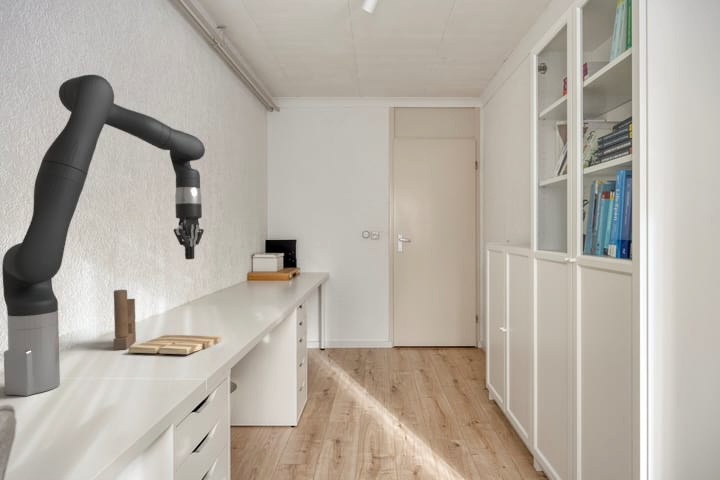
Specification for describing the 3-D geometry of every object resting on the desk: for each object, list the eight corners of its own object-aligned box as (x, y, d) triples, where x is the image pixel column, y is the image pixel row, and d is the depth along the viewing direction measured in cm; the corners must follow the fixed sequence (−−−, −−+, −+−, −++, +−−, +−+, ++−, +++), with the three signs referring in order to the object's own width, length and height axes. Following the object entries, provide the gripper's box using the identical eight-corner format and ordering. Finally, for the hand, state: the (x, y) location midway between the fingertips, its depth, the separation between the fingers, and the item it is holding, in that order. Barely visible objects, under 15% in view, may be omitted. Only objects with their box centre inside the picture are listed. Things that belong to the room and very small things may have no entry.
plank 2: (186, 354, 124) (186, 348, 124) (159, 353, 126) (159, 347, 126) (202, 348, 132) (202, 343, 132) (176, 347, 134) (176, 342, 134)
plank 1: (155, 353, 126) (155, 348, 126) (128, 352, 128) (128, 347, 128) (172, 347, 134) (172, 342, 134) (147, 346, 136) (147, 342, 136)
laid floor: (204, 349, 132) (204, 343, 132) (145, 347, 136) (145, 341, 136) (221, 341, 142) (221, 336, 142) (165, 339, 146) (165, 334, 146)
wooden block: (136, 341, 144) (134, 286, 144) (126, 349, 134) (125, 290, 134) (123, 342, 143) (122, 287, 143) (113, 350, 133) (111, 291, 133)
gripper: (187, 201, 129) (188, 260, 129) (211, 204, 141) (212, 257, 142) (164, 202, 130) (165, 260, 130) (189, 204, 143) (191, 258, 143)
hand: (189, 259), depth 136 cm, fingers closed
